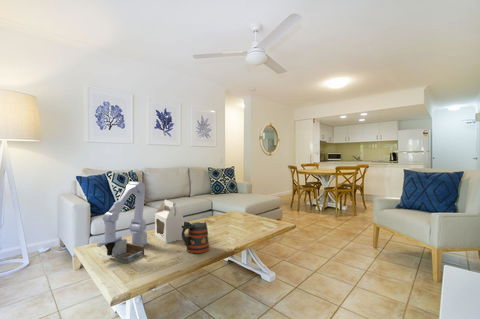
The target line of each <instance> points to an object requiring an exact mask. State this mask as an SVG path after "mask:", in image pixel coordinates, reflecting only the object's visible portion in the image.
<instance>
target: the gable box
mask: <svg viewBox="0 0 480 319" xmlns="http://www.w3.org/2000/svg"><path fill="white" fill-rule="evenodd" d="M180 211H181V210H179V208H178V207H177V206H176V202H174V201H173V200H169V199H164V201H163V203H161V204H160V206H159V208H158V209H157V210H156V212H155V214H154V236H155V237H156V236H157V237H156V238H158V239H159V240H161V241H162V242H163V241H164V242H163V243H165V244H169V243H173V242H172V241H174V242H177V241H176V240H178V241H181V240H180V239H182V230H183V228H182V226H184V215H183V214H182V212H180ZM163 233H164V237H163V236H162V235H161V234H163ZM182 240H183V239H182ZM168 242H169V243H168Z"/></svg>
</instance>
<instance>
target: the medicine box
mask: <svg viewBox="0 0 480 319" xmlns="http://www.w3.org/2000/svg"><path fill="white" fill-rule="evenodd" d="M127 241H128V239H126V238H125V237H122V240H117V241H115V242H114V243H115V246H114V247H113V249H112V255H111V257H115V256H116V255H118V256H121V255H123V254H126V253H127V252H126V246H127V243H128V242H127Z"/></svg>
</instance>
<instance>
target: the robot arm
mask: <svg viewBox="0 0 480 319" xmlns="http://www.w3.org/2000/svg"><path fill="white" fill-rule="evenodd" d="M145 189H146V184H145V183H144V182H143V181H129V182H128V183H127V184H126V186H125V189H124V192H123V193H122V195H121V196H120V198H119V199H118V200H116V201H115V202H114V203H113V205H112V206H111V207H110V209H109V210H108V211H107V212H105V213H104V214H103V217H102V220H103V222H104V239H103V240H101V241H99V242H97V243H96V244H97V245H96V246H97V247H98V248H100V247H103V246H105V249H106V255H107V256H109V257H110V256H111V257H112V249H113V247H114V246H115V243H114V242H115V241H117V240H122V238H123V236H121V235H118V236H116V234H117V232H116V231H117V221H118V220H119V216H120V213H121V211H122V210H123V208H125V203H126V201H127V200H128V199H129V197H130V196H131V195H132V194H135V195H136V196H135V206H134V213H133V214H134V215H133V218H132V219H131V220H130V223H129V227H128V230H129V231H130V233H131V244H135V245H140V246H145V245H147V244H148V234H147V231H146V230H147V224H146V220H145V219H144V217H143V216H144V208H145V207H144V205H145V196H146V192H145V191H146V190H145Z"/></svg>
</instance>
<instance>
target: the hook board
mask: <svg viewBox="0 0 480 319" xmlns="http://www.w3.org/2000/svg"><path fill="white" fill-rule="evenodd" d="M126 253H130V254H132V255H130V256H127V257H125V256H121V255H116V256H114V261H115V262H119V263H124V264H128V263H131V262H132V261H134V260H137V259H139V258H141V257H142V256H145V245H143V246H140V245H135V244H132V243H130V242H127V246H126Z"/></svg>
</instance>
